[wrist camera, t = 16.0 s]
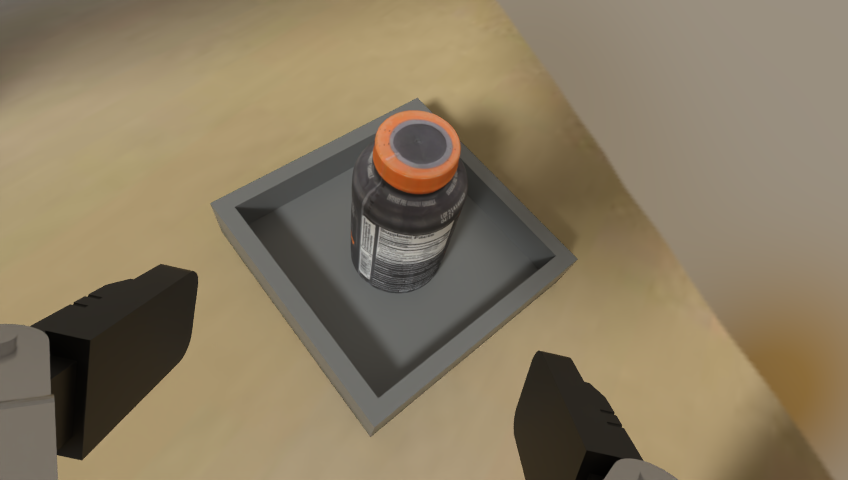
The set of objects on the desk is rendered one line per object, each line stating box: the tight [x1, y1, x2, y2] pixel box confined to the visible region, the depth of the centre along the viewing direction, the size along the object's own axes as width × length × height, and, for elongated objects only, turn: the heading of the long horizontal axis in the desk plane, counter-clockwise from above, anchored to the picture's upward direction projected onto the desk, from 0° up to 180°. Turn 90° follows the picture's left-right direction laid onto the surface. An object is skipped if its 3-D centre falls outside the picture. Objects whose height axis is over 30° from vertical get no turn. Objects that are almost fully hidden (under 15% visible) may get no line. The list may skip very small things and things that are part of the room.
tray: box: [210, 98, 578, 437], centre depth 32 cm, size 16×16×4 cm
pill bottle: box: [351, 110, 468, 293], centre depth 27 cm, size 6×6×11 cm
